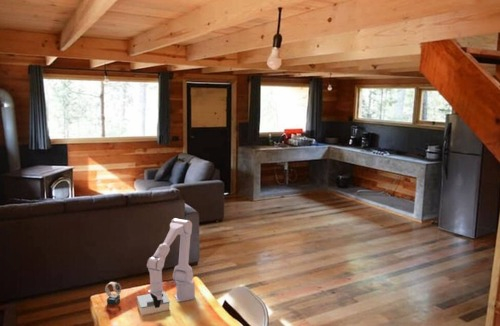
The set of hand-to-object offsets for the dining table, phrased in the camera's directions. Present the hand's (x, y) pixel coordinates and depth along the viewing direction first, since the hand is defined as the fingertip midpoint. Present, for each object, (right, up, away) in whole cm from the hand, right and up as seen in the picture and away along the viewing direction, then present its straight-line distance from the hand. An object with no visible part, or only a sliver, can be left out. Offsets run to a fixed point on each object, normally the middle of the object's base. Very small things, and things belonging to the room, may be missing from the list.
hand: (157, 307), depth 203 cm
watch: (-26, -3, +15) cm, 31 cm away
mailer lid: (-4, +1, +9) cm, 10 cm away
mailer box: (-4, -4, +10) cm, 11 cm away
